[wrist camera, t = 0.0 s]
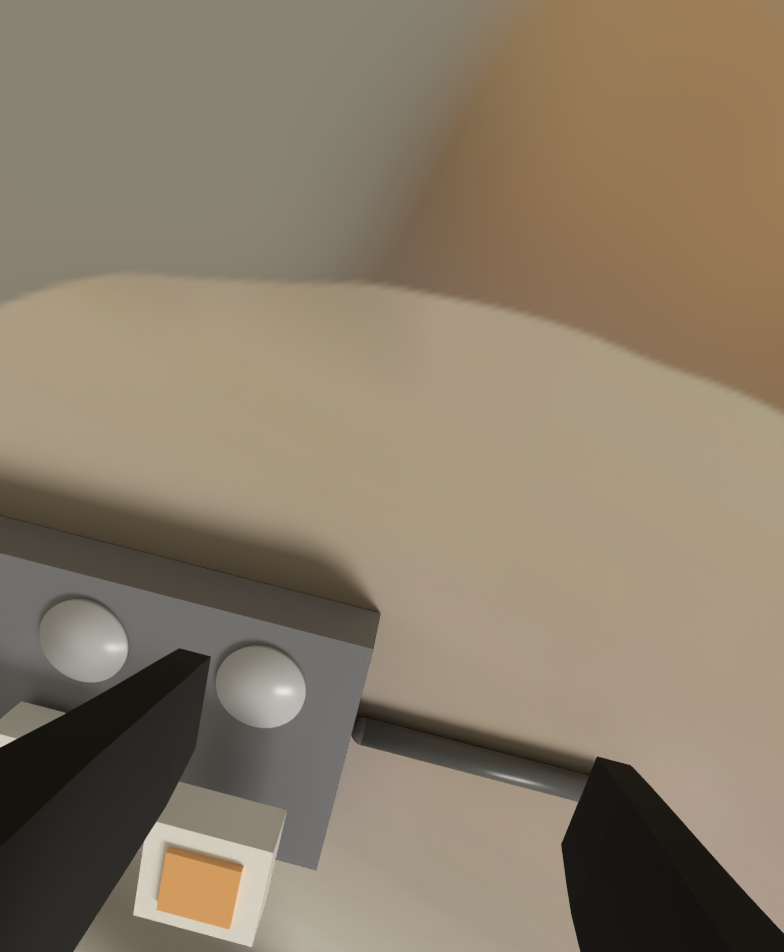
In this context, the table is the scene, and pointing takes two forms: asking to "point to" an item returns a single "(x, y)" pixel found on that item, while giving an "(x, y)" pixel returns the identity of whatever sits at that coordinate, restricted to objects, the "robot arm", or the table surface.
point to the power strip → (218, 671)
